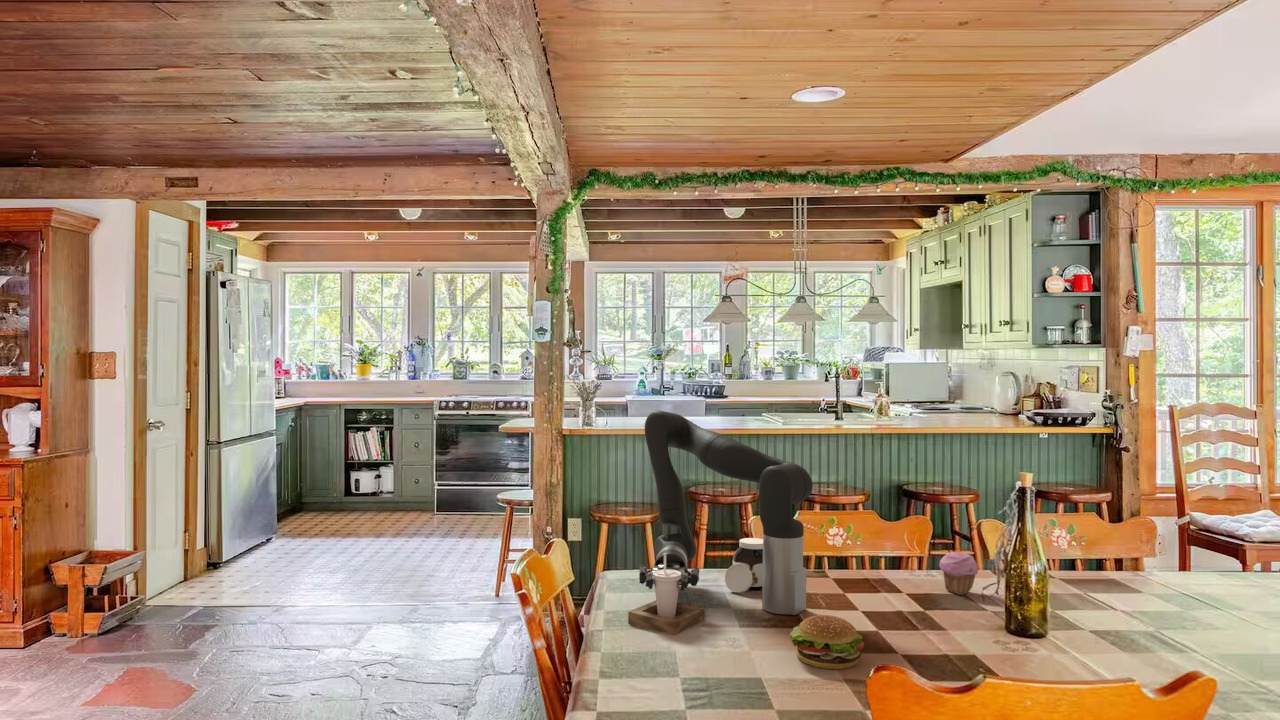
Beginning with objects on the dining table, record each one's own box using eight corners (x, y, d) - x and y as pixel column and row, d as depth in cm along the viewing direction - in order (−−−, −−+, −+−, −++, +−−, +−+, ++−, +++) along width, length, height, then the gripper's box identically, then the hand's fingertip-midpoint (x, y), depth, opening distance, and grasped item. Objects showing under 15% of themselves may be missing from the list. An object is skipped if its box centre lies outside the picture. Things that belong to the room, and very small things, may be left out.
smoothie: (647, 614, 177) (647, 551, 177) (672, 610, 180) (673, 548, 179) (659, 623, 171) (660, 558, 171) (686, 619, 174) (687, 555, 174)
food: (808, 640, 165) (809, 602, 165) (874, 657, 156) (874, 616, 156) (774, 659, 154) (775, 618, 154) (842, 678, 145) (843, 634, 145)
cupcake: (932, 589, 203) (932, 549, 203) (957, 585, 207) (958, 546, 207) (959, 599, 195) (960, 558, 195) (985, 595, 199) (986, 554, 199)
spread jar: (771, 583, 207) (772, 538, 207) (774, 596, 195) (775, 548, 195) (724, 581, 208) (725, 536, 208) (724, 594, 197) (725, 546, 197)
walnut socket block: (704, 620, 177) (704, 608, 177) (674, 634, 167) (674, 622, 167) (659, 609, 184) (659, 598, 184) (628, 623, 174) (628, 611, 174)
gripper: (641, 547, 190) (633, 566, 174) (701, 549, 189) (700, 569, 172) (640, 579, 190) (632, 601, 174) (701, 581, 189) (699, 603, 172)
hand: (666, 585), depth 173 cm, fingers closed on smoothie, 6 cm apart
